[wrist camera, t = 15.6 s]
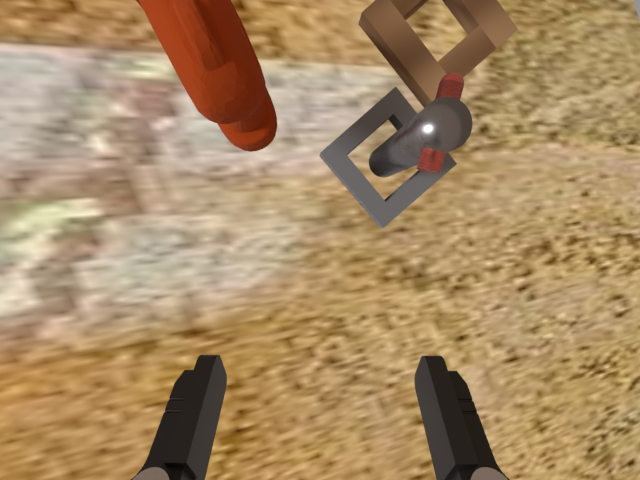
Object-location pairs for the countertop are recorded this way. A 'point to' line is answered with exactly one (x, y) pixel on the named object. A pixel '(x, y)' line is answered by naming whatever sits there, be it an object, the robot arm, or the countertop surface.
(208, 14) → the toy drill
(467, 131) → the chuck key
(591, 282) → the countertop surface
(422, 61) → the frame
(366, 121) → the socket
